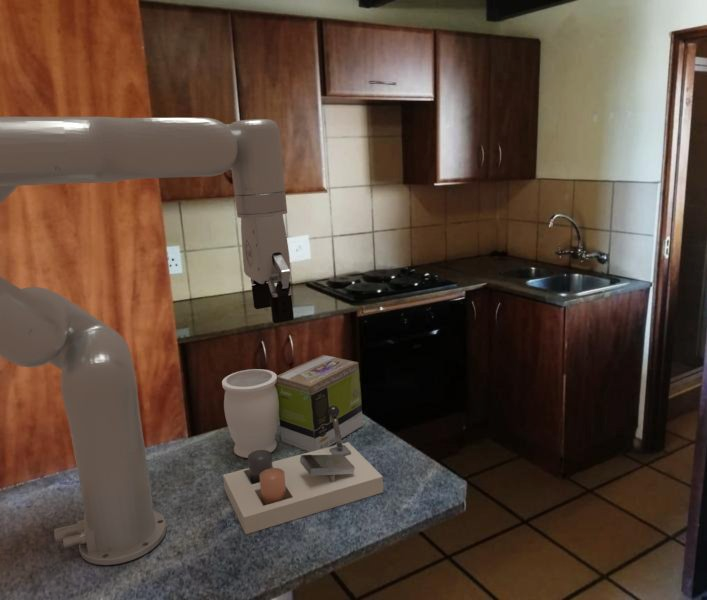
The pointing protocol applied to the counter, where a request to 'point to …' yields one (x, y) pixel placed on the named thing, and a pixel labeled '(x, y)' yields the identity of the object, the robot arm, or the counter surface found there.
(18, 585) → the counter surface
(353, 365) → the tea box
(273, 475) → the terracotta button
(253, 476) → the black button
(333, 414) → the toggle lever
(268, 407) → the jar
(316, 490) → the panel
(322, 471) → the rocker
